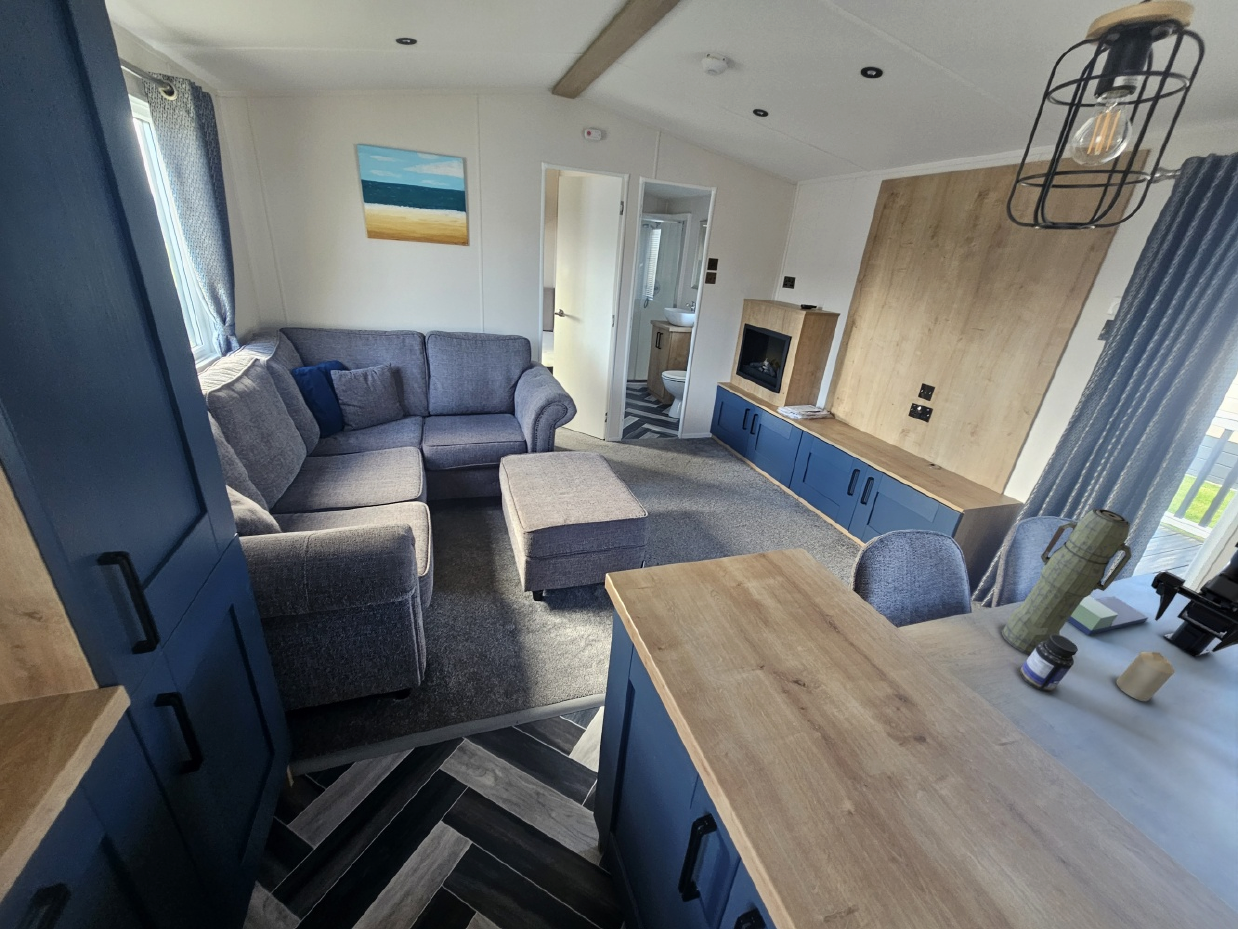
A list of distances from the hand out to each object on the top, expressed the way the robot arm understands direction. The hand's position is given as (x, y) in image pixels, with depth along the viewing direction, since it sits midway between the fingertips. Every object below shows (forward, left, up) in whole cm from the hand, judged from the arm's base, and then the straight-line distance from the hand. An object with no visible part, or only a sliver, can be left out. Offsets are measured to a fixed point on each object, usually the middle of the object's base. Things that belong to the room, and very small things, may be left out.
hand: (1183, 634), depth 108 cm
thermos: (+20, -14, -13) cm, 28 cm away
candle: (+8, +2, -13) cm, 16 cm away
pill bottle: (+29, -5, -13) cm, 32 cm away
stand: (-13, -16, -13) cm, 25 cm away
